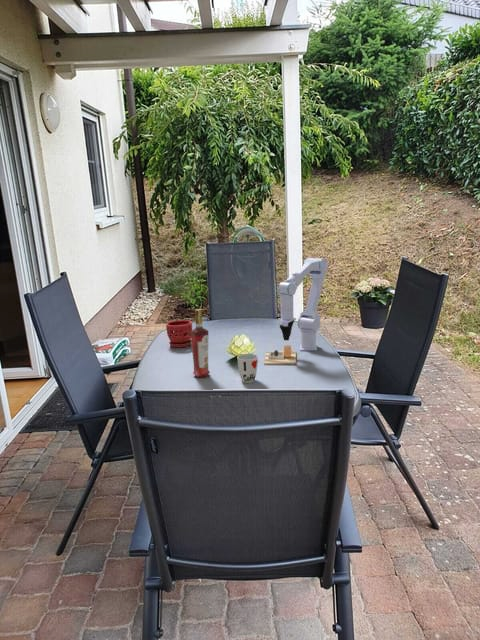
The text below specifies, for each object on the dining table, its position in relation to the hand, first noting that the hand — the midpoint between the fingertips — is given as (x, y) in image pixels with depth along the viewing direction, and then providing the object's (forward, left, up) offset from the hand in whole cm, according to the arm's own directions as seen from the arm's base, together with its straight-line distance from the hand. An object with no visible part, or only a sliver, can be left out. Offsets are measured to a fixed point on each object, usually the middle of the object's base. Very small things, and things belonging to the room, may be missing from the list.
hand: (287, 337), depth 216 cm
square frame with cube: (+1, -3, -9) cm, 9 cm away
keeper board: (+2, -3, -9) cm, 10 cm away
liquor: (+26, -35, -10) cm, 44 cm away
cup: (+31, -15, -10) cm, 35 cm away
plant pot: (-19, -55, -10) cm, 59 cm away
